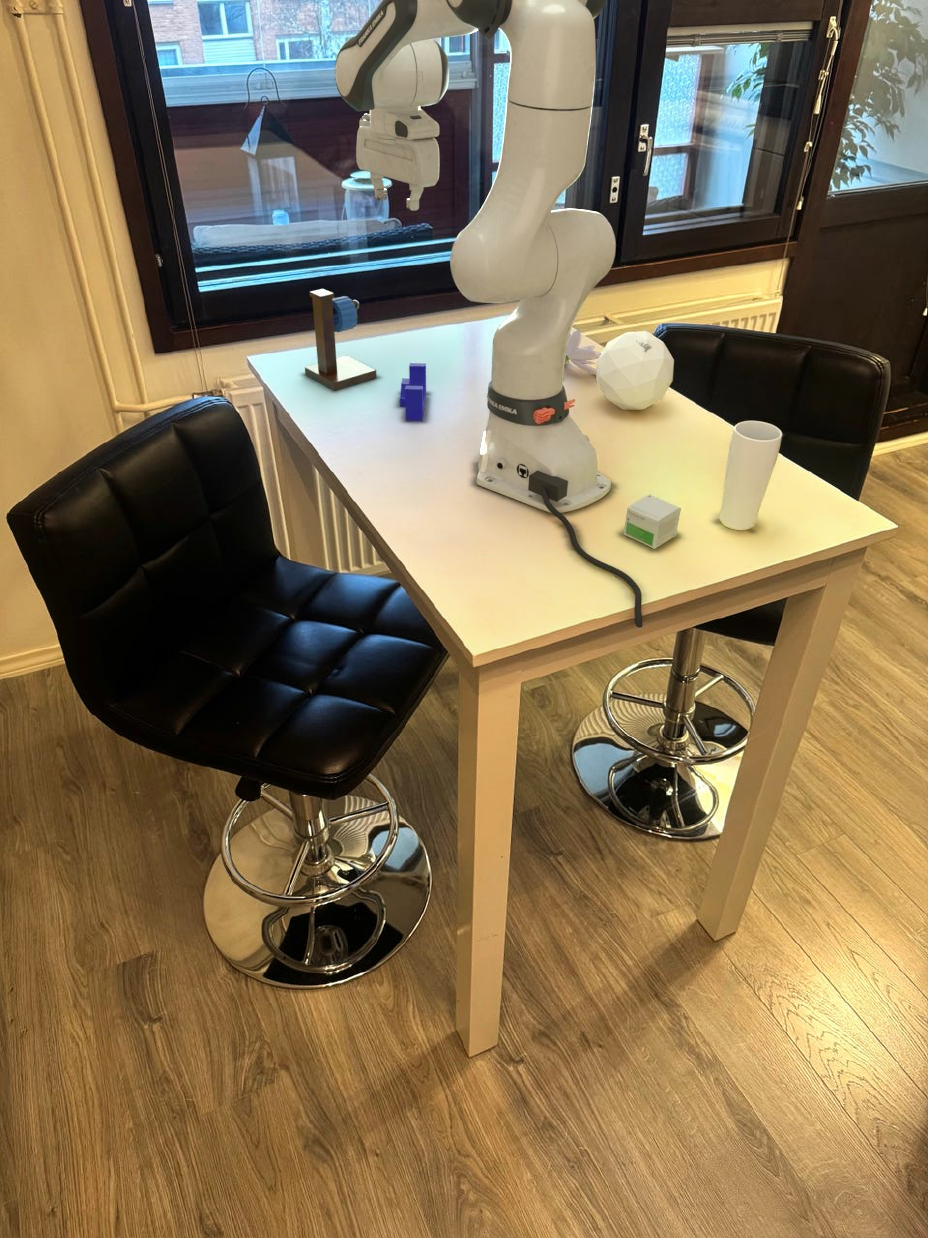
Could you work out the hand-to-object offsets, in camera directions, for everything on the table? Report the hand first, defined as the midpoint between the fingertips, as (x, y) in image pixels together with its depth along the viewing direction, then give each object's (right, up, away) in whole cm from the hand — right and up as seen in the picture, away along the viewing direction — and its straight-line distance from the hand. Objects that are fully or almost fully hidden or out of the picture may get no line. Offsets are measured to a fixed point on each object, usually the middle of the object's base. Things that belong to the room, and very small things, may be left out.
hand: (396, 204), depth 167 cm
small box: (+40, -65, -35) cm, 84 cm away
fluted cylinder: (-11, -22, +5) cm, 25 cm away
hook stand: (-12, -29, +10) cm, 33 cm away
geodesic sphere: (+43, -37, +1) cm, 57 cm away
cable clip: (+3, -38, -1) cm, 38 cm away
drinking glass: (+53, -62, -32) cm, 88 cm away
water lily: (+35, -28, +13) cm, 46 cm away
